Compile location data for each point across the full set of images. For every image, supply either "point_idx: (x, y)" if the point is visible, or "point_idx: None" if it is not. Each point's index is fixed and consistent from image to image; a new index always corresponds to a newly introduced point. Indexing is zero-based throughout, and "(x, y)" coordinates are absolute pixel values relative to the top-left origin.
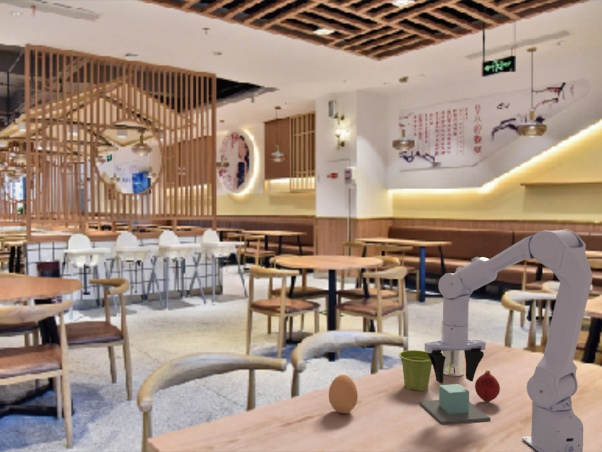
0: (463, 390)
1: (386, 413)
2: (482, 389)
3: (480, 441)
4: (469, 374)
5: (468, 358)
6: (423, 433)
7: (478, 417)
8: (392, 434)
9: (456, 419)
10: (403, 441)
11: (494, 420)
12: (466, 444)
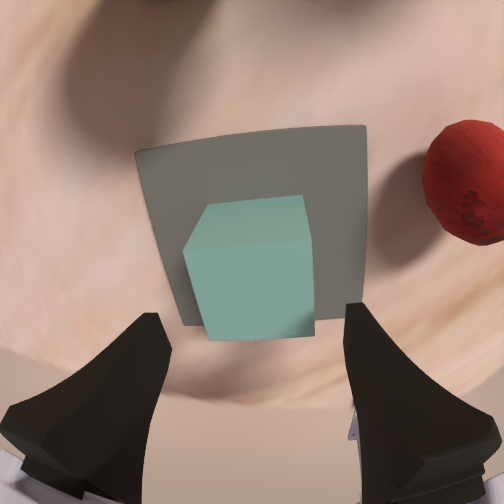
0: (291, 325)
1: (40, 235)
2: (439, 219)
3: (260, 393)
4: (351, 360)
5: (375, 437)
6: None
7: (320, 313)
8: (71, 340)
9: None
10: None
11: (370, 310)
12: (222, 397)
